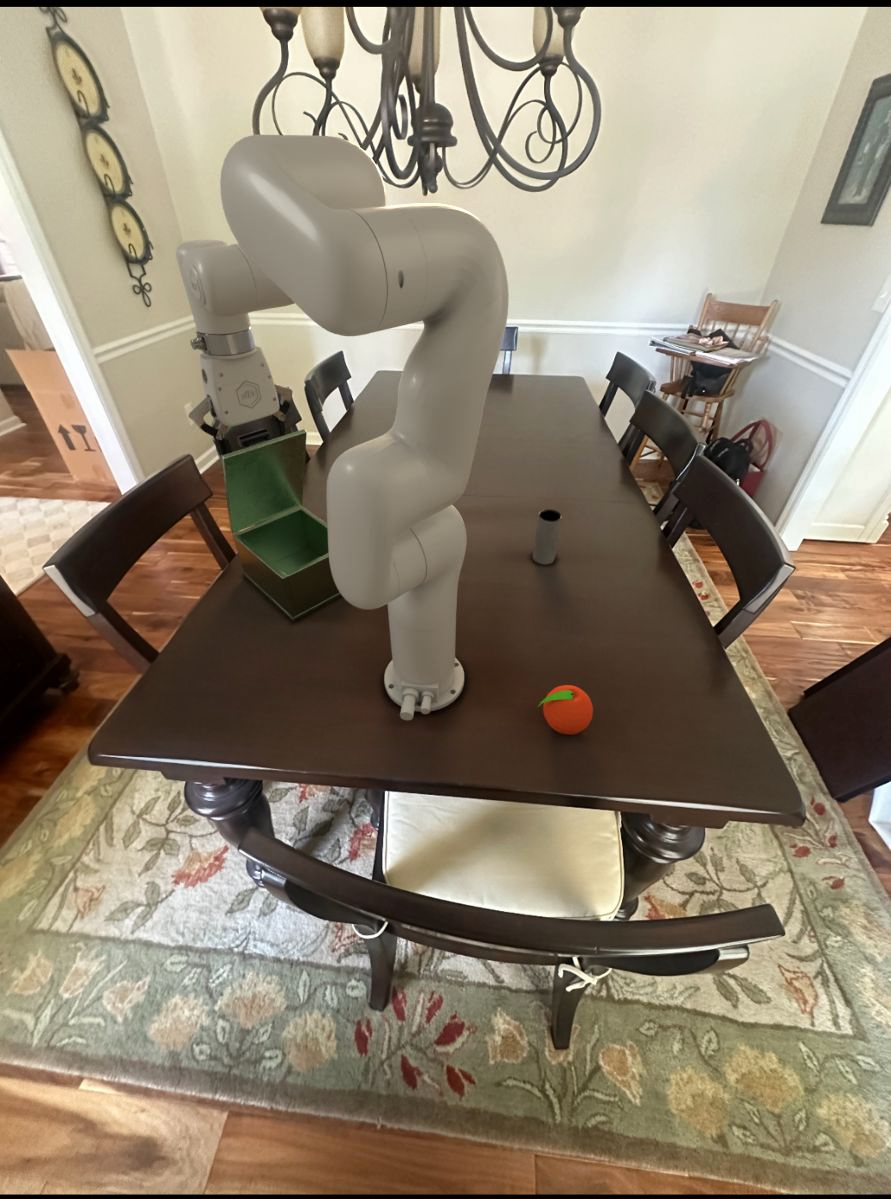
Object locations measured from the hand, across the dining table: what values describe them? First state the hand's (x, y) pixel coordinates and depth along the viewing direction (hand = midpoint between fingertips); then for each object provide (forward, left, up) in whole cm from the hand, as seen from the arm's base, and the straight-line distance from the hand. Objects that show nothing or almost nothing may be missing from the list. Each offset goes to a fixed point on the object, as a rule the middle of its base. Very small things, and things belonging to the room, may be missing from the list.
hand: (255, 450), depth 88 cm
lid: (-1, -1, -6) cm, 6 cm away
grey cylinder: (+9, -52, -25) cm, 59 cm away
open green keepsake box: (-4, -5, -25) cm, 26 cm away
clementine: (-32, -53, -25) cm, 67 cm away
